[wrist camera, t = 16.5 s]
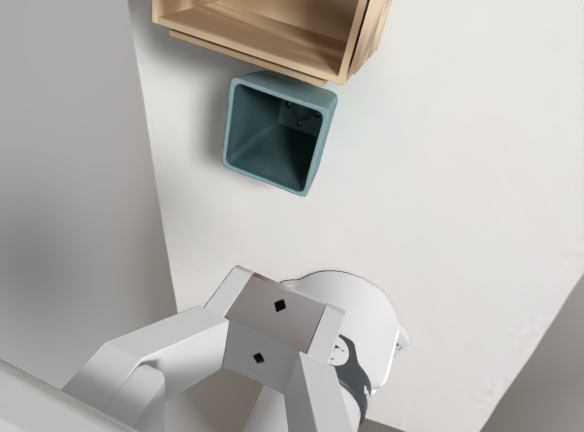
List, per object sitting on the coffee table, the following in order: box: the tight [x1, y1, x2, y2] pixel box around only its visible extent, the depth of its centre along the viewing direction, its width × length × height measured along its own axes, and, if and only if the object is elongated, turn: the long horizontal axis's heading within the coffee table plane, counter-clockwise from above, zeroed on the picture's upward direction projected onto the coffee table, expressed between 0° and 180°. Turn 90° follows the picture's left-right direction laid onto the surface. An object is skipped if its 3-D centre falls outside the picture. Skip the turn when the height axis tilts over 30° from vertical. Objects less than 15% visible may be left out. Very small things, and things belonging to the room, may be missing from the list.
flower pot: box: [222, 71, 337, 197], centre depth 39 cm, size 9×9×9 cm
